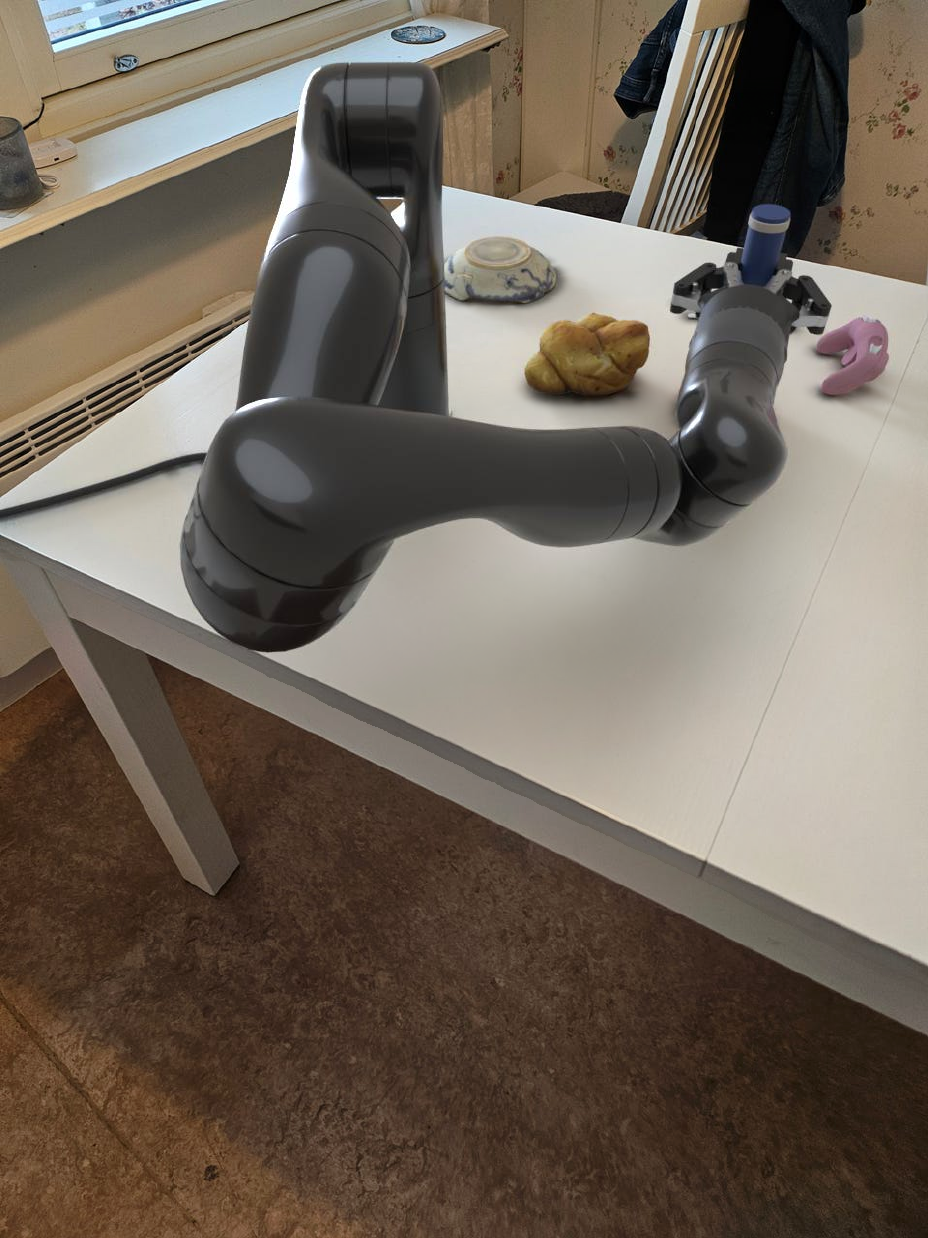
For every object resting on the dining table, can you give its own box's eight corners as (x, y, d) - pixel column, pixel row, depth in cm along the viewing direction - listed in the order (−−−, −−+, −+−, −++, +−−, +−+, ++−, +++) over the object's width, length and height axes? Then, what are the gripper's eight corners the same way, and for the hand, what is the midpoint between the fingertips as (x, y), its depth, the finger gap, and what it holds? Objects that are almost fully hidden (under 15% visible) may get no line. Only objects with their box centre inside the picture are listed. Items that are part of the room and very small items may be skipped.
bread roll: (529, 410, 91) (533, 341, 85) (515, 361, 98) (517, 293, 92) (649, 400, 92) (660, 331, 86) (626, 352, 99) (636, 285, 93)
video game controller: (851, 412, 93) (903, 363, 88) (817, 392, 92) (867, 341, 87) (843, 363, 99) (891, 315, 94) (811, 344, 99) (858, 294, 93)
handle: (722, 366, 84) (756, 220, 74) (715, 348, 87) (747, 203, 76) (757, 365, 84) (796, 219, 74) (749, 347, 87) (785, 202, 76)
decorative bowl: (414, 278, 112) (495, 319, 104) (413, 249, 109) (496, 289, 101) (498, 243, 119) (580, 279, 111) (499, 215, 116) (582, 250, 108)
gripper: (643, 379, 74) (677, 287, 85) (814, 408, 71) (826, 309, 82) (656, 296, 69) (691, 209, 80) (842, 323, 66) (851, 229, 77)
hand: (759, 260), depth 81 cm, fingers closed on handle, 3 cm apart
